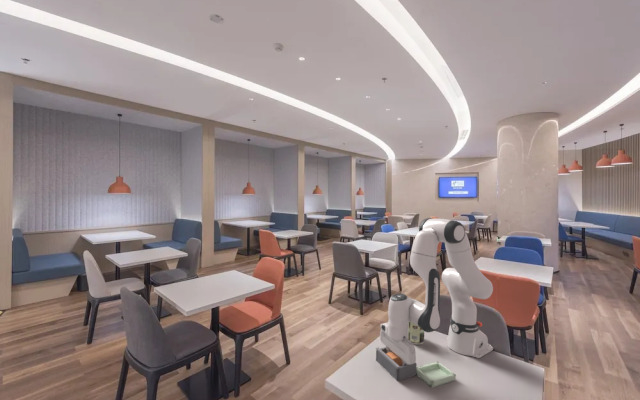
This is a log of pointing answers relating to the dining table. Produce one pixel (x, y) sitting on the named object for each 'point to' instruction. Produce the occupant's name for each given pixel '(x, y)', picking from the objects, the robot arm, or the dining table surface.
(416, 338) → the coffee can
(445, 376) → the tray
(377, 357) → the bay
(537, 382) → the dining table surface
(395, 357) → the orange block
